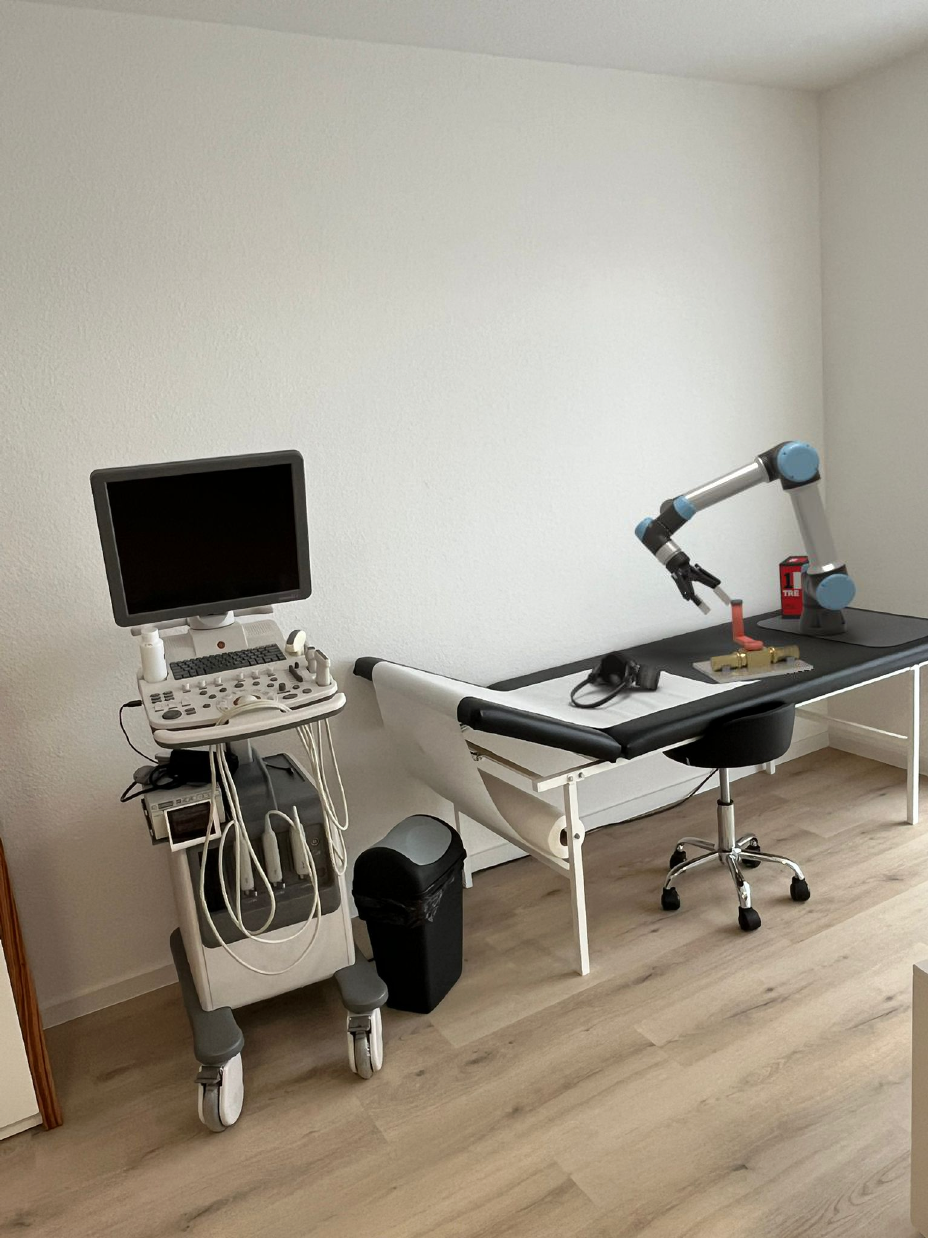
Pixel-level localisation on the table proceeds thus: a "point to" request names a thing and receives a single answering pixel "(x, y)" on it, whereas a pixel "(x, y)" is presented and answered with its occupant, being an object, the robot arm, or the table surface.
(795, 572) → the cleaning product box
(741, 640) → the lever
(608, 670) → the respirator mask
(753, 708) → the table surface
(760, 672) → the valve
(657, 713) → the table surface
